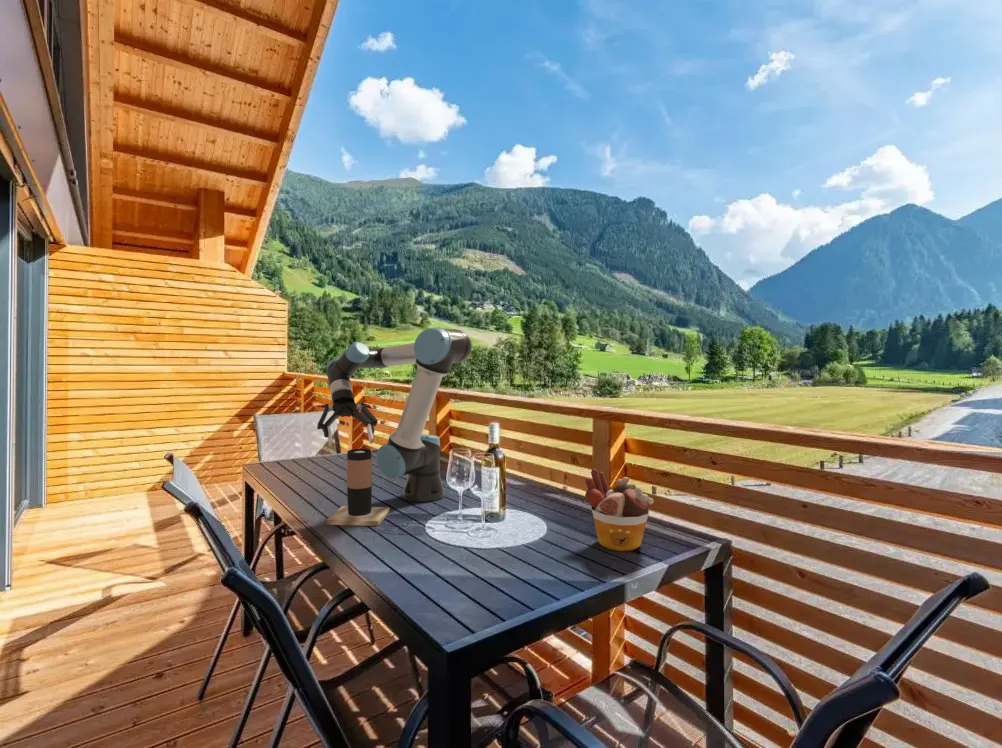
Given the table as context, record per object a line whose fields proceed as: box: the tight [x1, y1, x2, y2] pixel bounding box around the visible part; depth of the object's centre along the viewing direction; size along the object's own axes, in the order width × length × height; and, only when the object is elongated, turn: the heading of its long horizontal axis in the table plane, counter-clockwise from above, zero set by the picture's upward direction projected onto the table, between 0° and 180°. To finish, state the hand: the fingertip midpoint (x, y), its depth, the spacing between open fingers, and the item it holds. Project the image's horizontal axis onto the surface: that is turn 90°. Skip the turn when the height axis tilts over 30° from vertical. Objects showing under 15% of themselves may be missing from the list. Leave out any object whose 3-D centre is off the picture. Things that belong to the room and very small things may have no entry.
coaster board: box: [326, 505, 390, 527], centre depth 163 cm, size 16×14×2 cm
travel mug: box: [346, 448, 373, 516], centre depth 163 cm, size 8×8×20 cm
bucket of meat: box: [584, 468, 654, 552], centre depth 143 cm, size 20×16×20 cm
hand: (351, 442), depth 171 cm, fingers open, 13 cm apart
